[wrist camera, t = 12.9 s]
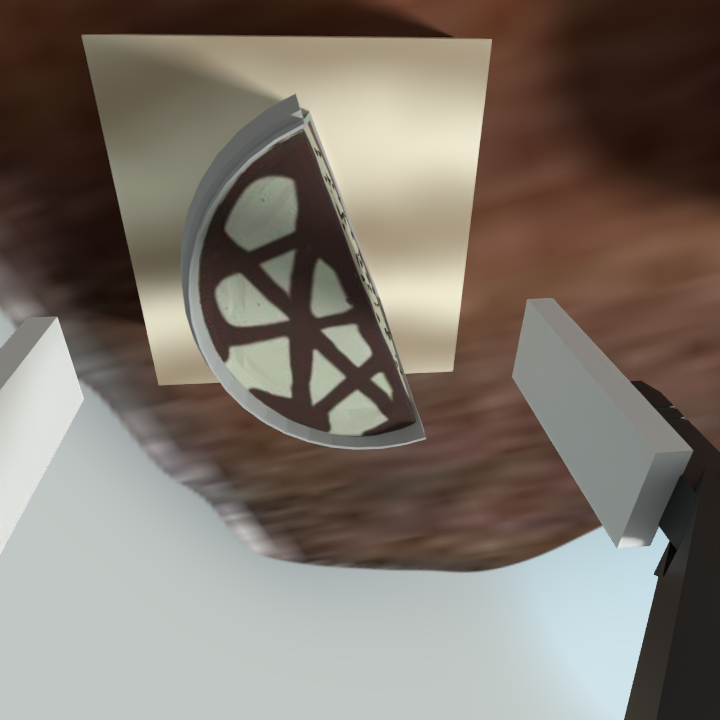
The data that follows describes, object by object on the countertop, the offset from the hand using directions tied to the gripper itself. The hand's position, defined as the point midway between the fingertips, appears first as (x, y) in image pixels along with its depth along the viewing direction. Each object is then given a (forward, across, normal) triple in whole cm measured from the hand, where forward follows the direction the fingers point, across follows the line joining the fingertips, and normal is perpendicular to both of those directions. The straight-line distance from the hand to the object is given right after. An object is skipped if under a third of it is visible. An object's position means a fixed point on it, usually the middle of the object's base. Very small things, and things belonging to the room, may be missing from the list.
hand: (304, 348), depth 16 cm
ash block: (+17, 0, -1) cm, 17 cm away
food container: (+11, -1, -1) cm, 11 cm away
